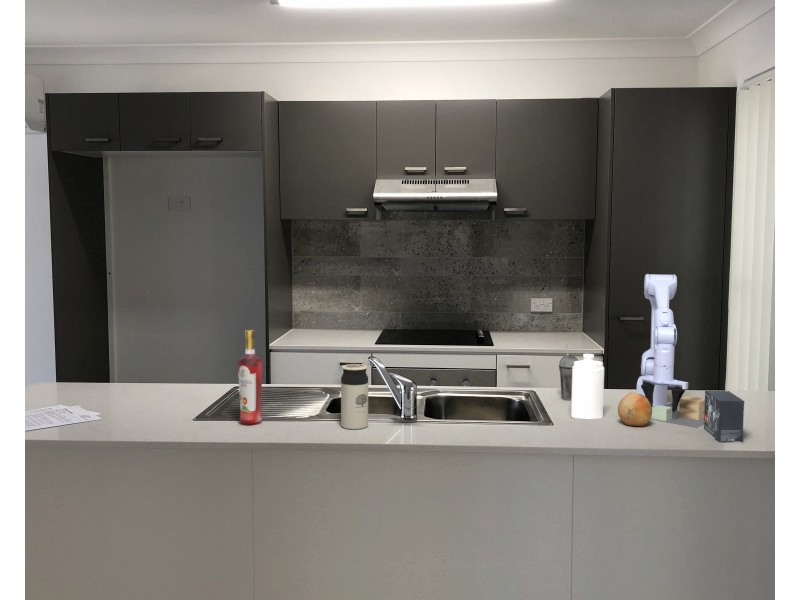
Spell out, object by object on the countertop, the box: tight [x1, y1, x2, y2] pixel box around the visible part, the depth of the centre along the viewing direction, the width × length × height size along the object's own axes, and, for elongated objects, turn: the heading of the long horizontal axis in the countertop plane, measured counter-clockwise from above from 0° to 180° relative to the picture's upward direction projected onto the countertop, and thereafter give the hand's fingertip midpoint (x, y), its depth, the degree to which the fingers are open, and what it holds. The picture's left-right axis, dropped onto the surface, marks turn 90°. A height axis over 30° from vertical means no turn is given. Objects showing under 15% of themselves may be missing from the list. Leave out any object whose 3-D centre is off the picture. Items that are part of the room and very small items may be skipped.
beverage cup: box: [558, 342, 579, 402], centre depth 247 cm, size 7×7×20 cm
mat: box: [649, 410, 704, 429], centre depth 221 cm, size 15×17×1 cm
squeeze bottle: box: [570, 353, 605, 420], centre depth 222 cm, size 10×20×5 cm
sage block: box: [651, 405, 672, 421], centre depth 220 cm, size 4×4×4 cm
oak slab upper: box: [678, 395, 705, 411], centre depth 223 cm, size 6×6×3 cm
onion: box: [617, 392, 653, 427], centre depth 213 cm, size 10×10×10 cm
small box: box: [703, 390, 745, 443], centre depth 202 cm, size 13×7×12 cm, turn 174°
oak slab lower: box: [678, 407, 704, 420], centre depth 223 cm, size 6×6×3 cm
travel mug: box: [340, 363, 369, 430], centre depth 210 cm, size 8×8×18 cm
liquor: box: [237, 329, 264, 426], centre depth 212 cm, size 7×7×28 cm
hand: (662, 408), depth 220 cm, fingers open, 7 cm apart
